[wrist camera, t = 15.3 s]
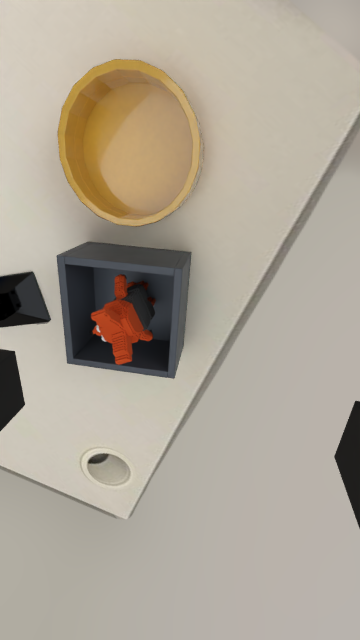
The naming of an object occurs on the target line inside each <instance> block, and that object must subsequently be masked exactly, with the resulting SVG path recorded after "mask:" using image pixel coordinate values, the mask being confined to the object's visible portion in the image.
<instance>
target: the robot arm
mask: <svg viewBox="0 0 360 640" xmlns="http://www.w3.org/2000/svg"><path fill="white" fill-rule="evenodd" d="M24 405H25V402H24V397H23V392H22V387H21V381H20V376H19V371H18V366H17V361H16V355H15V351H9V350H2V349H0V431H1V430H2V429H3V428H4V427H5V426H6V425H7V424H8V423H9V422H10V420H11V419H12V418H13V417H14V416H15V415H16V414H17V413H18V412H19V411H20V410H21V409H22V408H23V406H24ZM335 460H336V462H337V465H338V468H339V471H340V474H341V477H342V480H343V483H344V485H345V488H346V491H347V494H348V497H349V499H350V502H351V505H352V508H353V511H354V514H355V517H356V519H357V522H358V525H359V528H360V402H359V401H355V403H354V406H353V408H352V411H351V414H350V417H349V419H348V422H347V424H346V427H345V430H344V432H343V435H342V438H341V440H340V443H339V446H338V448H337V451H336V454H335Z"/></svg>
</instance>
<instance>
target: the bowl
mask: <svg viewBox="0 0 360 640" xmlns="http://www.w3.org/2000/svg"><path fill="white" fill-rule="evenodd" d="M58 144H59V156H60V161H61V164H62V166H63V169H64V172H65V175H66V178H67V181H68V183H69V184H70V186H71V187H72V189H73V190H74V192H75V193H76V195H77V196H78V198H79V199H80V201H82V203H83V204H85V205H86V206H87V207H88V208H89V209H90V210H92V211H93V212H94V213H95V214H96V215H97V216H99V217H101V218H103V219H106V220H108V221H110V222H112V223H115V224H118V225H126V226H142V225H146V224H150V223H154V222H157V221H160V220H161V219H163V218H165V217H166V216H168V215H169V214H171V213H172V212H174V211H175V210H177V209H178V208H180V207H181V206H182V205H183V204H184V202H185V201H186V200H187V199H188V197H189V196H190V195H191V194H192V192H193V190H194V189H195V186H196V184H197V182H198V179H199V177H200V173H201V170H202V163H203V151H204V144H203V138H202V133H201V129H200V123H199V121H198V119H197V117H196V115H195V113H194V111H193V109H192V107H191V105H190V104H189V102H188V100H187V98H186V96H185V94H184V92H183V91H182V89H181V88H180V87H179V86H178V85H177V84H176V83H175V82H174V81H173V80H172V79H171V78H170V77H169V76H168V75H167V74H166V73H165V72H163V71H162V70H160V69H158V68H156V67H154V66H151V65H149V64H147V63H145V62H143V61H141V60H140V61H139V60H122V59H114V60H112V61H109V62H106V63H104V64H101V65H99V66H96V67H93V68H92V69H91V70H90V71H89V72H88V73H86V74H85V75H84V76H83V77H82V78H81V79H80V80H79V81H78V82H77V83H76V84H75V85H74V86H73V88H72V90H71V92H70V94H69V96H68V97H67V99H66V101H65V103H64V105H63V108H62V112H61V117H60V122H59V128H58Z"/></svg>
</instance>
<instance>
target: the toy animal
mask: <svg viewBox="0 0 360 640" xmlns="http://www.w3.org/2000/svg"><path fill="white" fill-rule="evenodd" d="M126 279H127V277H126V275H124V274H123V275H122V274H120V275H118V276H116V277H115V279H114V280H115V281H114V282H115V286H114V287H115V290H114V292H115V293H114V294H115V296H116V298H115V299H114V300H113V301H111V302H109V303H106V304H105V306H104V307H103V309H101V310H98V311H96V312H93V313H91V318H92V320H94V321H96V323H97V325H96V326H95V327H94V330H91V331H90V332H89V333H90V334H91V335H92V334H95V333H96V335H99V336H102V338H101V339H102V340H103V341H104V342H106V341H107V342H109V343H112V346H113V347H112V348H113V354H114V356H115V362H116V364H118V365H120V364H124V363H127V362H130V361H132V356H131V355H132V353H133V352H132V343H135V342H138V340H139V339H141V340H146V341H150V340H152V338H153V334H152V333H153V332H152V330H150V331H148V330H146V329H147V328H148V326H149V324H150V320H152V318H153V317H154V315H155V310H154V307H153V306H154V303H155V302H156V300H155V298H154V299H152V298H151V297H148V298H147V296H148V294H147V292H146V290H147V287H148V285H149V284H148V282H147V283H145V282H144V281H141V282H139V283H135V282H130V283H128V284H127V283H126V282H127V281H126ZM126 284H127V285H126Z"/></svg>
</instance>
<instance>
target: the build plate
mask: <svg viewBox="0 0 360 640" xmlns="http://www.w3.org/2000/svg"><path fill="white" fill-rule="evenodd" d="M50 320H51V319H50V316H49V313H48V311H47V308H46V305H45V302H44V300H43V297H42V294H41V291H40V289H39V286H38V283H37V281H36V278H35V275H34V273H33V272H27V273H20V274H14V275H7V276H0V327H8V326H17V325H26V324H45V323H48V322H49V321H50Z"/></svg>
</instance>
